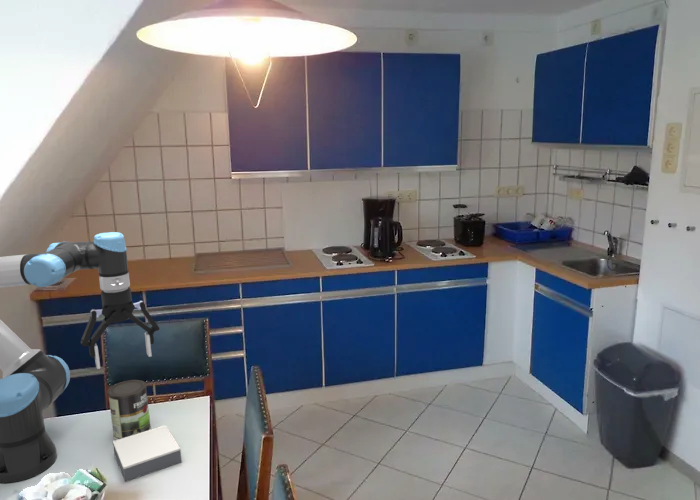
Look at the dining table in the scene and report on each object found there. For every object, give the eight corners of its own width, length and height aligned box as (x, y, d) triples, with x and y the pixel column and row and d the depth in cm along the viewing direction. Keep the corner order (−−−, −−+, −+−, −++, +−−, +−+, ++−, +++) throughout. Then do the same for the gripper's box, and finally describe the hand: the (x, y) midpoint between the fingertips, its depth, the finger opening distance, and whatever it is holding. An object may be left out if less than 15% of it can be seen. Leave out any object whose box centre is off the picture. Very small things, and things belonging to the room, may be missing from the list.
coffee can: (158, 424, 157) (153, 380, 154) (137, 443, 147) (132, 397, 144) (127, 421, 159) (122, 378, 156) (105, 440, 149) (99, 394, 146)
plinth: (114, 454, 142) (112, 441, 141) (166, 437, 149) (165, 424, 149) (125, 481, 130) (123, 467, 130) (181, 461, 138) (180, 448, 137)
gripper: (66, 300, 134) (77, 377, 138) (165, 284, 147) (172, 354, 152) (62, 293, 140) (73, 367, 144) (158, 278, 153) (165, 346, 158)
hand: (124, 361), depth 148 cm, fingers open, 13 cm apart
